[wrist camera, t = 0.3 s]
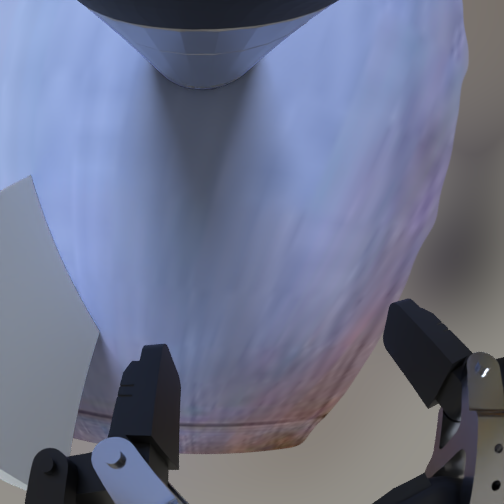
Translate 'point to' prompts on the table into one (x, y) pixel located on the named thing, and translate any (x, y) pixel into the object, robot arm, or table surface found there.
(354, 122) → the table surface
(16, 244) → the riser
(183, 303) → the table surface
